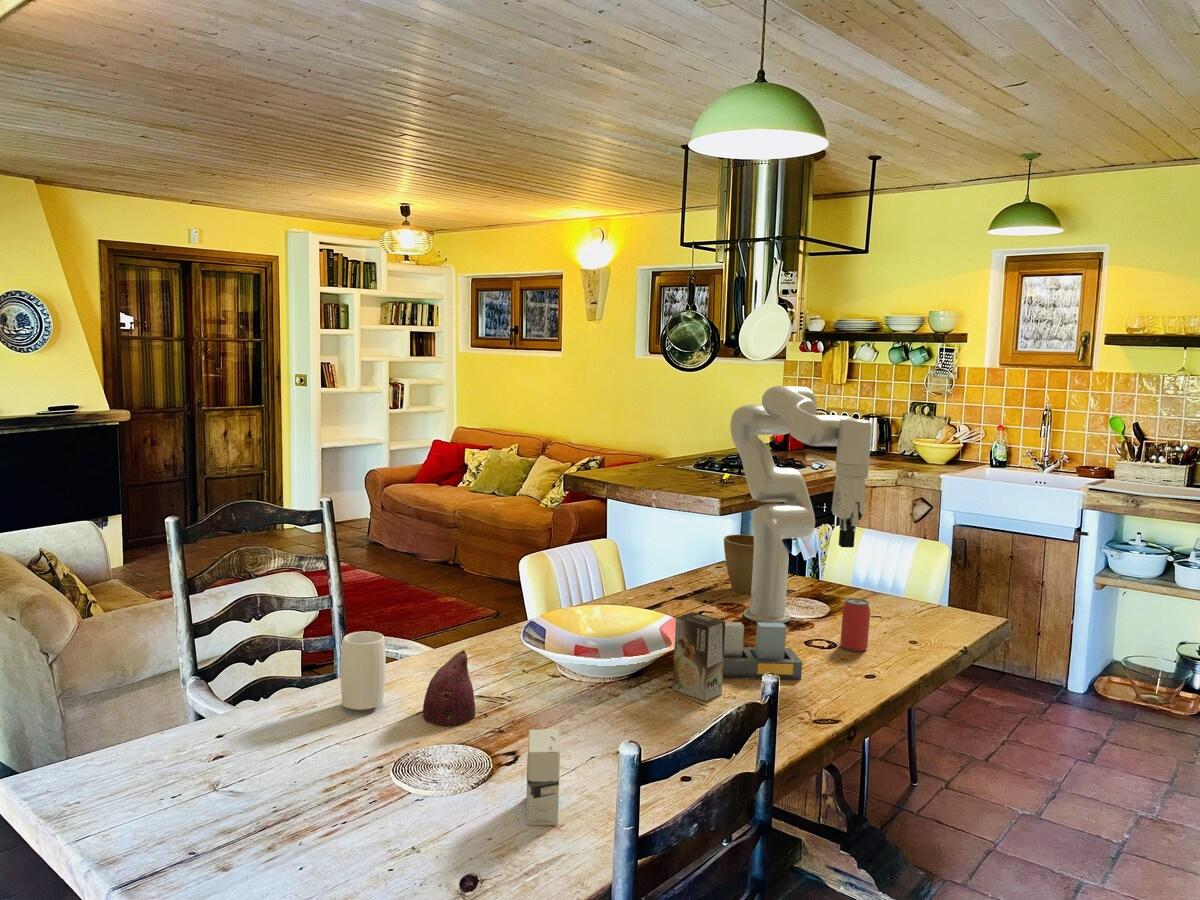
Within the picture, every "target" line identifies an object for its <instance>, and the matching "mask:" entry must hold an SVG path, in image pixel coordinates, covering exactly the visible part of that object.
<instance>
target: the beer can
mask: <svg viewBox="0 0 1200 900" xmlns="http://www.w3.org/2000/svg"><path fill="white" fill-rule="evenodd" d="M870 621H871V608H870V605H869V601H868V600H867V599H866V600H865V599H862V598H858V597H857V598H855V597H854V598H853V597H850V598H846V599H845V602H844V604H843V607H842V618H841V630H840V631H841V632H840V644H839V645H840V646H841V647H842V648H843V649H844V650H848V651H850V650H851V652H864V651H866V650H867V649H868V646H869V645H868V644H869V631H870Z"/></svg>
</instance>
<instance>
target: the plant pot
mask: <svg viewBox="0 0 1200 900" xmlns="http://www.w3.org/2000/svg"><path fill="white" fill-rule="evenodd" d="M723 550H724V558H725V564H726V569H727V575H728V579H729V582H730V585H731V589H732V591H733V592H735V593H738V594H743V593H751V587H752V571H753V554H754V536H753V534H752V535H750V534H729V535H726V536H724V537H723Z"/></svg>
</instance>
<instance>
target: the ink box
mask: <svg viewBox="0 0 1200 900" xmlns="http://www.w3.org/2000/svg"><path fill="white" fill-rule="evenodd" d="M560 742H561V741H560V730H559V729H557V728H553V729H552V728H551V729H549V728H548V729H545V728H544V729H533V728H532V729H531V728H530V729H529V730H528V743H527V744H528V745H527V761H526V766H527V767H526V826H558V823H559V804H560V803H559V802H560V769H561V767H560V765H561V763H560V760H561V749H560V747H561V745H560Z"/></svg>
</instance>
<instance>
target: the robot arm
mask: <svg viewBox="0 0 1200 900" xmlns="http://www.w3.org/2000/svg"><path fill="white" fill-rule="evenodd" d="M817 410H818V409H817V399H816V396H815V393H814V392H813V390H811V389H810V388H809V387H806V386H803V385H802V386H800V385H799V386H798V385H775V386H772V387H770V388H768V389H766V390H765V391H764V393H763V395H762V398H761V404H746V405H743V406H740V407H738V408H736V409H735V410H734V411H733V413H732V415H731V418H730V435H731V438H732V441H733V444H734V446H735V448H736V450H737V452H738V455H739V457H740V459H741V460H740V461H741V463H742V467H743V471H744V475H745V479H746V483H747V486H748V491H749V493H750V496H751V497H752V499H754V501H757V502H759V503H760V502H762V503H767V504H763V505H760V506H758V507H757V508H756V509H754V512H752V516H751V526H752V533H753V534H752V536H754V554H753V571H752V587H751V594H750V604H749V606H750V607H748V608H745V610H744V611H743V615H744V617H745V618H747V619H749V620H750V621H753V622H756V623H757V622H760V623H783V624H785V623H787V622H790V621H791V614H790V613H789V612H788V611H786V607H787V606H786V603H787V588H788V587H787V586H788V577H789V576H788V575H789V573H788V572H789V561H790V560H789V552H788V549H787V548H786V545H785V544H784V542H783V540H785V539H800V538H807V537H809V536H810V535H812V533H813V532H814V531H815V528H816V527H815V526H816V518H815V516H816V515H815V513H814V507H813V504H812V501H811V498H810V493H809V491H808V486H807V483H806V480H805V478H804V476H803V475H802V474H801V472H800V471H799V470H797V469H795V468H793V467H778V466H777V465H776V464H775V462H774V459H773V455H772V452H771V450H770V449H769V447H768V445H767V444H766V443H765V442H764V441H763V440H762V439H761V438H760V437H759V436H783V435H787V434H790V436H791V437H792V438H794V439H796V440H797V441H798V442H801V443H803V444H805V445H807V446H810V447H811V446H812V447H837V448H836V458H835V460H836V462H835V474H834V477H835V482H834V487H833V493H832V494H833V495H832V503H831V513H832V514H834V516H836V517H838V519H839V535H838V546H839V547H840V548H854V545H855V536H856V535H855V534H856V530H857V529H856V528H857V527H859V521H862V520H863V519H864V515H865V508H866V507H865V505H866V504H865V503H866V480H867V479H869V467H870V466H869V465H870V458H871V456H870V453H871V444H872V443H871V442H872V432H873V431H872V428H873V427H872V423H871V422H870V421H869V420H867V419H862V418H860V419H859V418H854V417H853V416H848V415H835V414H834V415H832V414H831V415H830V414H820V415H819V414H817V413H818V412H817ZM774 502H775V503H774ZM776 502H778V503H776ZM779 502H781V503H779ZM782 502H783V503H782Z"/></svg>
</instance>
